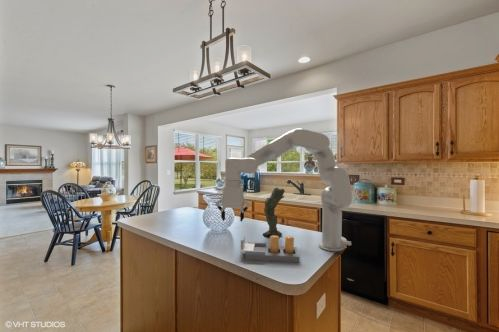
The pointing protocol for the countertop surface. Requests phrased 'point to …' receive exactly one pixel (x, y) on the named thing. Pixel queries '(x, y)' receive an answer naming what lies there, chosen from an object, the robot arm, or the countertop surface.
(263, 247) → the housing
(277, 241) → the orange rounded capsule
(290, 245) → the orange rounded peg
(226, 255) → the countertop surface
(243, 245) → the lid
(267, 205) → the green twisted sculpture
